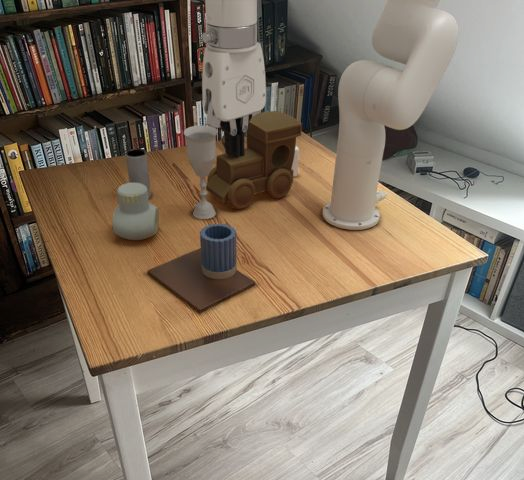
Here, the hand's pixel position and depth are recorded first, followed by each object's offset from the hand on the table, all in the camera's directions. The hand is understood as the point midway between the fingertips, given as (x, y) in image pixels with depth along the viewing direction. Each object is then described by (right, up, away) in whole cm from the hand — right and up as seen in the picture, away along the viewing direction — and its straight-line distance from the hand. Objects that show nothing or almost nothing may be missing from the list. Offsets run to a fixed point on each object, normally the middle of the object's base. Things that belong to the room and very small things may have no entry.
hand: (234, 154), depth 97 cm
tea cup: (-1, -14, +9) cm, 17 cm away
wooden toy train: (+2, +3, +36) cm, 36 cm away
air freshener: (-21, -9, +21) cm, 31 cm away
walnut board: (-7, -20, +9) cm, 23 cm away
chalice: (-8, -3, +28) cm, 30 cm away
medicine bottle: (+9, +11, +46) cm, 48 cm away
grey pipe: (-23, +2, +34) cm, 41 cm away
